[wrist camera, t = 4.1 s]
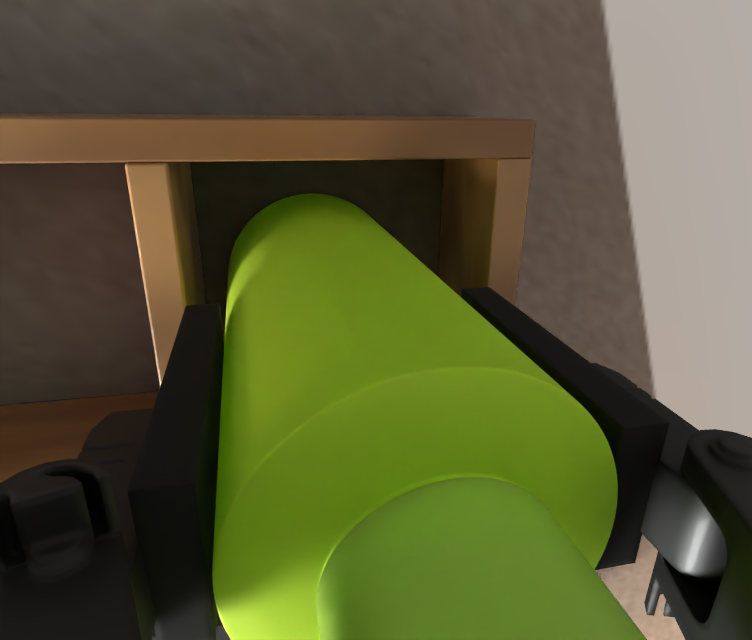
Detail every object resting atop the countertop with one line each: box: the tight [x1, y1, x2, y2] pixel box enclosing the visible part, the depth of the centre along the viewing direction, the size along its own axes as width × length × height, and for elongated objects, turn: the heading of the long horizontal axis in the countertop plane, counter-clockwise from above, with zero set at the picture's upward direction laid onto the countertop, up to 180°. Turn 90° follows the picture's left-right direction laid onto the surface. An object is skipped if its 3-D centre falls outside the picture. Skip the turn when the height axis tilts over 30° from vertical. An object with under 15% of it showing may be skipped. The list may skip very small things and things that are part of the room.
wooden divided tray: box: [0, 113, 536, 482], centre depth 16 cm, size 10×20×4 cm, turn 89°
